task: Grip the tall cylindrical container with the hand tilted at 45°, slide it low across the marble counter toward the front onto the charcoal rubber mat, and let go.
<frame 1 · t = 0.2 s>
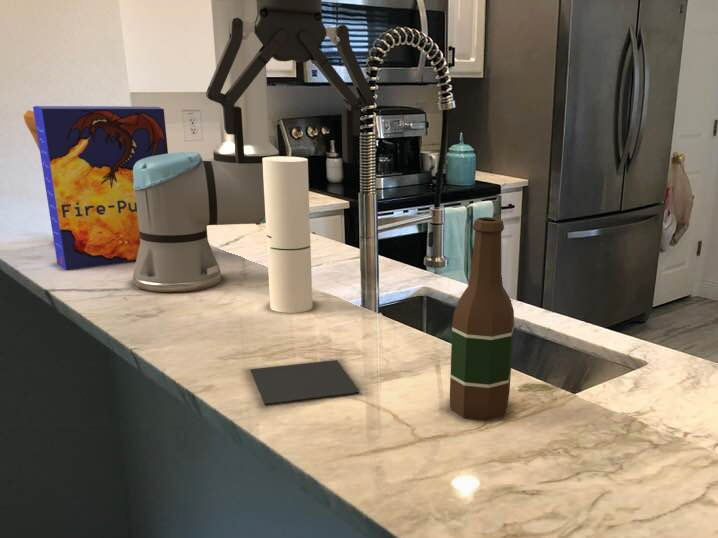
hand: (295, 162, 97), 28 cm above the worktop, tool pointing down, fingers open, 13 cm apart
beer bottle: (479, 409, 96), on the worktop
mat: (303, 382, 101), on the worktop
pancake mix bag: (69, 247, 165), on the worktop
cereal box: (119, 260, 156), on the worktop
cylindrical container: (291, 307, 132), on the worktop
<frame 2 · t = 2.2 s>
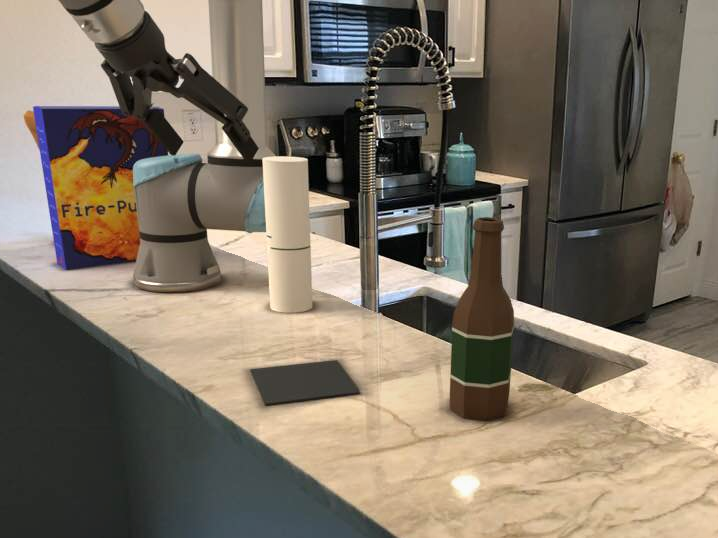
hand: (214, 152, 109), 27 cm above the worktop, tool tilted 45°, fingers open, 13 cm apart
nothing on the worktop moved.
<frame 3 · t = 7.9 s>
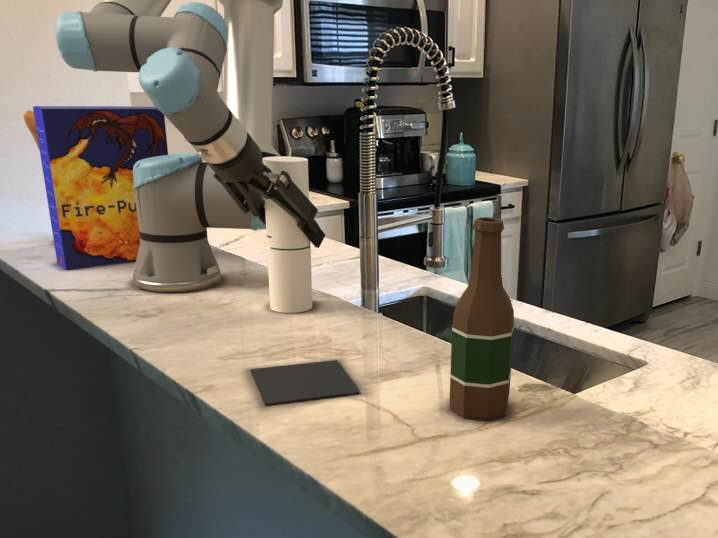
hand: (302, 237, 131), 12 cm above the worktop, tool tilted 45°, fingers closed on cylindrical container, 7 cm apart
cylindrical container: (291, 307, 132), on the worktop, touching gripper
everything else where it was.
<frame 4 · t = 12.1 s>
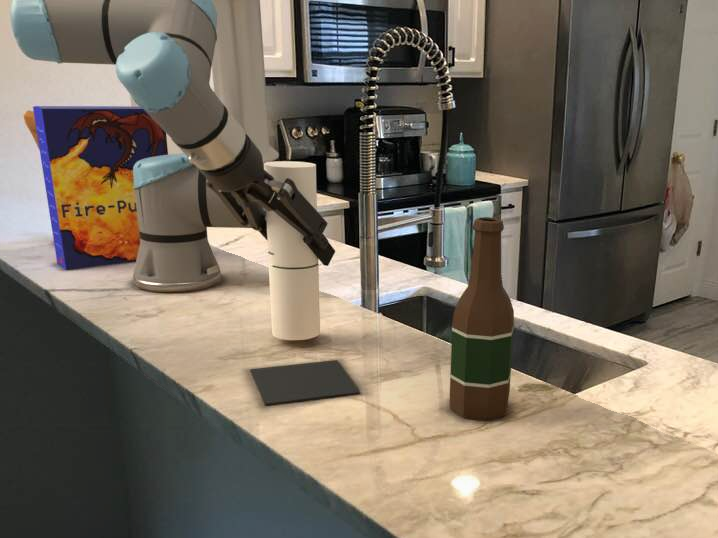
hand: (308, 254, 115), 13 cm above the worktop, tool tilted 45°, fingers closed on cylindrical container, 7 cm apart
cylindrical container: (296, 333, 116), point 1 cm above the worktop, touching gripper
everything else where it was.
when the fingers open (12 cm above the worktop, at t = 16.2 s): cylindrical container stays where it is, resting on mat.
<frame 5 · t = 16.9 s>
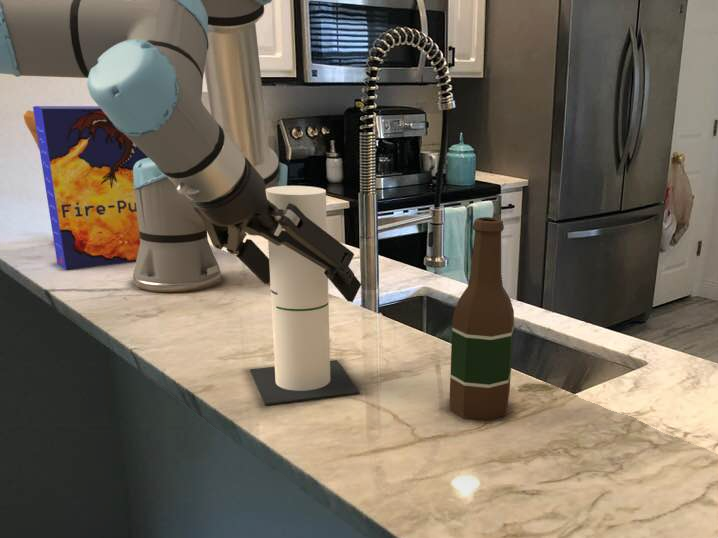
hand: (311, 284, 99), 13 cm above the worktop, tool tilted 45°, fingers open, 13 cm apart
cylindrical container: (303, 381, 101), resting on mat
everything else where it was.
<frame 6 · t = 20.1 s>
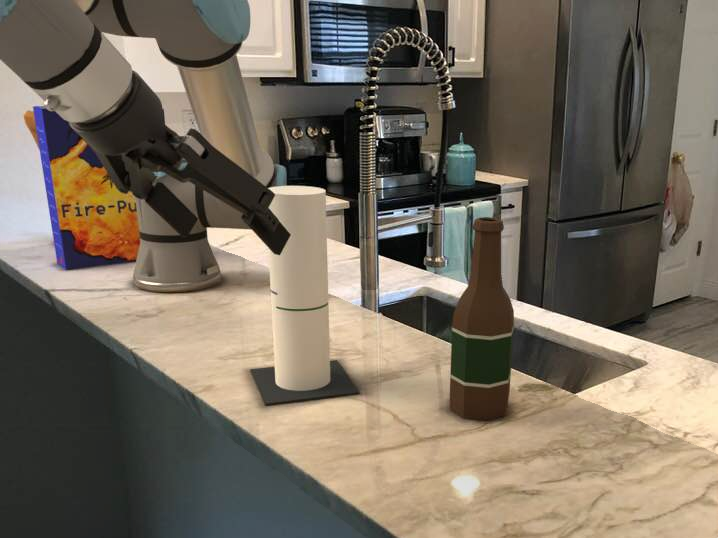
hand: (235, 236, 85), 21 cm above the worktop, tool tilted 45°, fingers open, 13 cm apart
nothing on the worktop moved.
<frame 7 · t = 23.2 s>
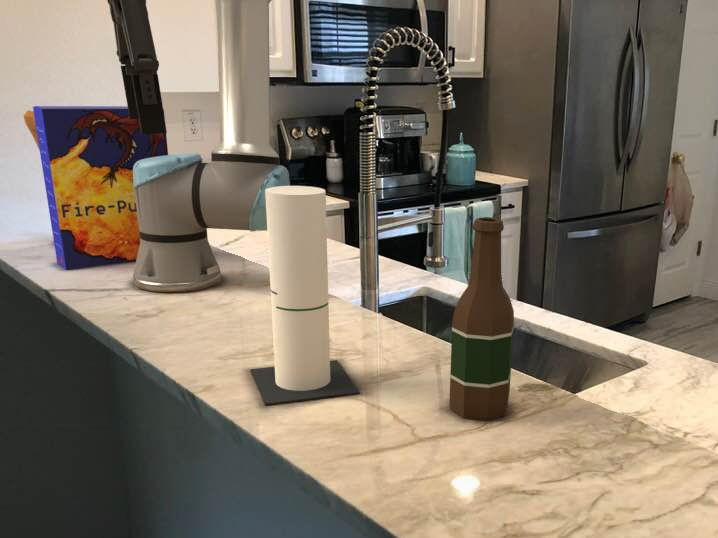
hand: (147, 125, 95), 32 cm above the worktop, tool pointing down, fingers open, 13 cm apart
nothing on the worktop moved.
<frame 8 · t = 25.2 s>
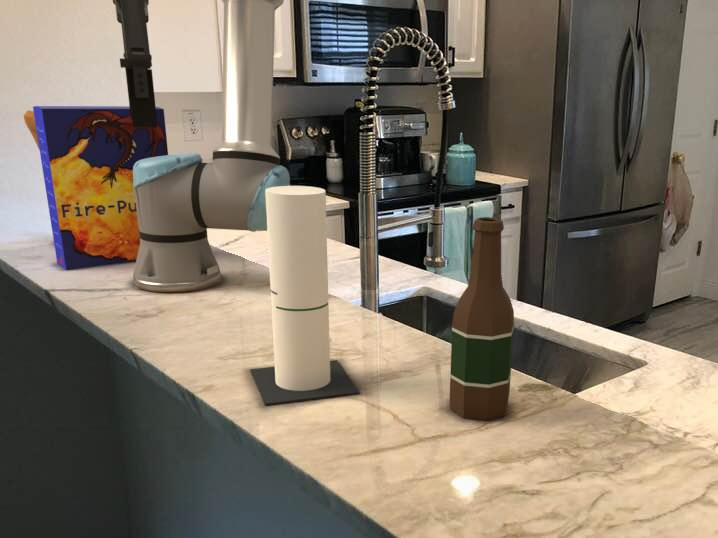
hand: (143, 123, 97), 32 cm above the worktop, tool pointing down, fingers open, 13 cm apart
nothing on the worktop moved.
at the end: cylindrical container inside the target area on the mat (0.1 cm from its centre), point 0.1 cm above the mat's base; cylindrical container tilted 0°; the gripper is holding nothing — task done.
